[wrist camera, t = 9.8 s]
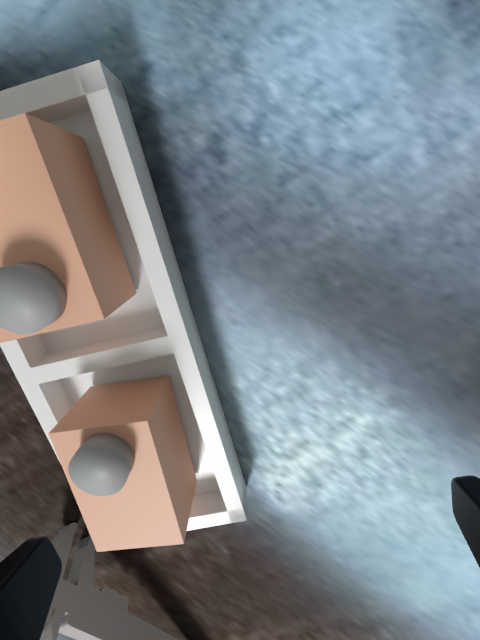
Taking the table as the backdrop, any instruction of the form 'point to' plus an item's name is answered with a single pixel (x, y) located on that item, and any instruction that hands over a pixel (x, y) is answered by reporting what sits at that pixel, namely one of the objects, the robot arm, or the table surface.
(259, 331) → the table surface
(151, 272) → the housing
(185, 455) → the orange block with knob
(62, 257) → the block
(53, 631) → the caliper
